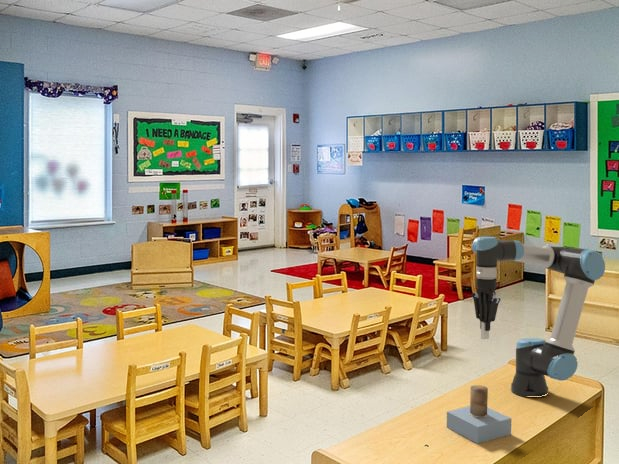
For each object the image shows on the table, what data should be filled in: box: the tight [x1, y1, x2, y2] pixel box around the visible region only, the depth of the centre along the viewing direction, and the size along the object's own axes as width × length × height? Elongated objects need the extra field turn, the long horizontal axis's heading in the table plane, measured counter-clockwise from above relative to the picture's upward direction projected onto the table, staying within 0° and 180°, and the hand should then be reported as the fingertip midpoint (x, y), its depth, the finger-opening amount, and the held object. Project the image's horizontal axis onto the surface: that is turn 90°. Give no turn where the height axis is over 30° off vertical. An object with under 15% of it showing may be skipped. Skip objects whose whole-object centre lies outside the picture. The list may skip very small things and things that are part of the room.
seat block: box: [446, 405, 512, 445], centre depth 225 cm, size 16×16×6 cm
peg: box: [469, 384, 489, 419], centre depth 224 cm, size 6×6×15 cm
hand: (484, 338), depth 237 cm, fingers closed
